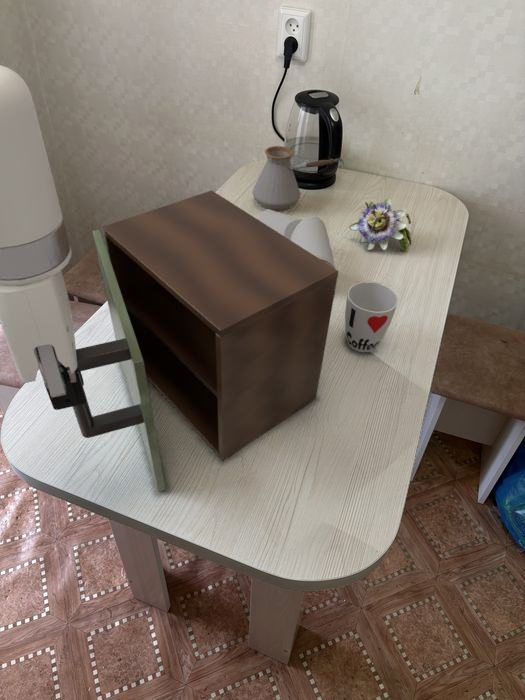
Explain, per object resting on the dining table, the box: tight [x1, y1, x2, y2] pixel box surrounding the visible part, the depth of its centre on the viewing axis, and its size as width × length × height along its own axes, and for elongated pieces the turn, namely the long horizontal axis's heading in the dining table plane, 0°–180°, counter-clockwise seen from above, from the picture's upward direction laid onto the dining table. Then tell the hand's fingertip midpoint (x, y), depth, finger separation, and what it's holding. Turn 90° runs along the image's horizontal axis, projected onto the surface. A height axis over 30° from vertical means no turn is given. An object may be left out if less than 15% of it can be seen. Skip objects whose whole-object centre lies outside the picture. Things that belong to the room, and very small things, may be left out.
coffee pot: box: [252, 145, 345, 213], centre depth 116 cm, size 21×12×15 cm, turn 59°
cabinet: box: [101, 189, 339, 462], centre depth 72 cm, size 18×26×24 cm
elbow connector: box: [257, 209, 337, 270], centre depth 100 cm, size 18×10×20 cm
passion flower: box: [349, 196, 412, 252], centre depth 110 cm, size 11×11×12 cm
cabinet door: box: [60, 229, 166, 493], centre depth 65 cm, size 8×26×24 cm, turn 22°
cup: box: [344, 281, 399, 353], centre depth 85 cm, size 8×8×10 cm
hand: (69, 395), depth 53 cm, fingers closed on cabinet door
